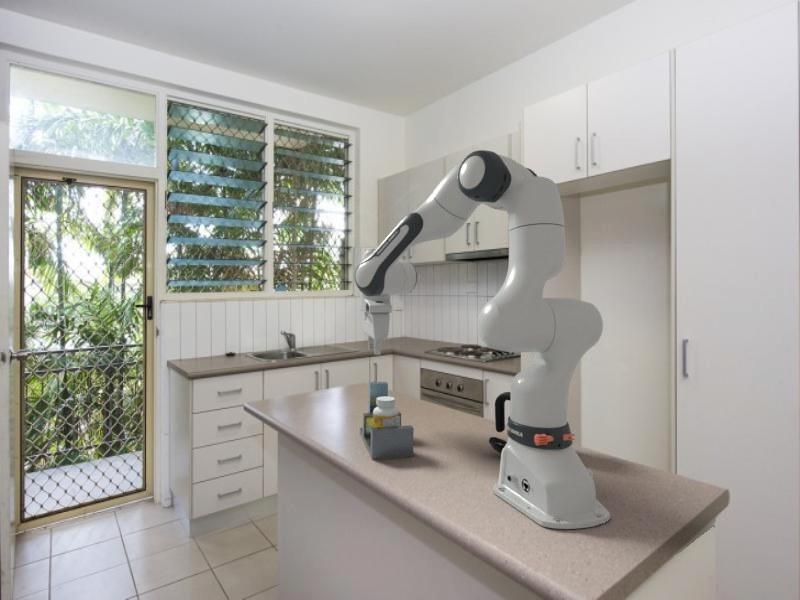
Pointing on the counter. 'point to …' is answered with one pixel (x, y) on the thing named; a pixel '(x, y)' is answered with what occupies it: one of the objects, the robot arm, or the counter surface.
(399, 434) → the vise base
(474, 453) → the counter surface
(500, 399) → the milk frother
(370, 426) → the sliding jaw
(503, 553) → the counter surface
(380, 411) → the supplement bottle
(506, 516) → the counter surface
